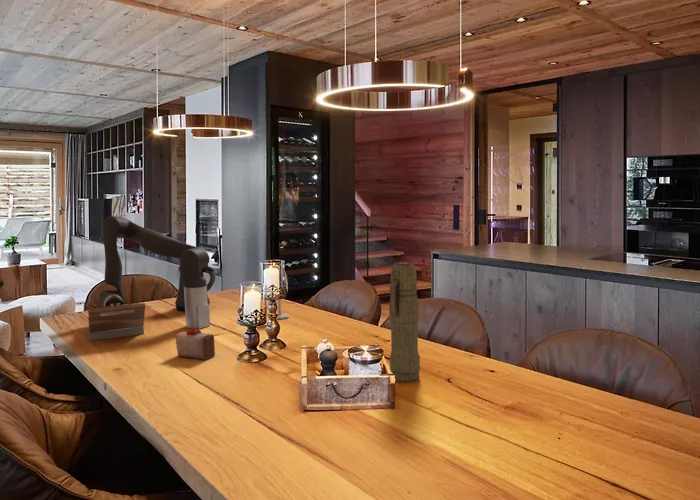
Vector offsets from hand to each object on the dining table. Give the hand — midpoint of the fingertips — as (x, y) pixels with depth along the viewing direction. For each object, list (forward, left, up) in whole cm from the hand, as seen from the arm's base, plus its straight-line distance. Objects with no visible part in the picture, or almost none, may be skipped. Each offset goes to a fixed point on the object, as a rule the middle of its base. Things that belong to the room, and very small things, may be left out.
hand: (116, 312), depth 226 cm
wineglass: (-29, -61, -11) cm, 69 cm away
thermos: (-117, -18, -11) cm, 119 cm away
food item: (-43, -1, -11) cm, 45 cm away
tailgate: (+5, -3, -8) cm, 10 cm away
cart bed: (+13, -7, -11) cm, 19 cm away
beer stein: (+21, -56, -11) cm, 61 cm away
